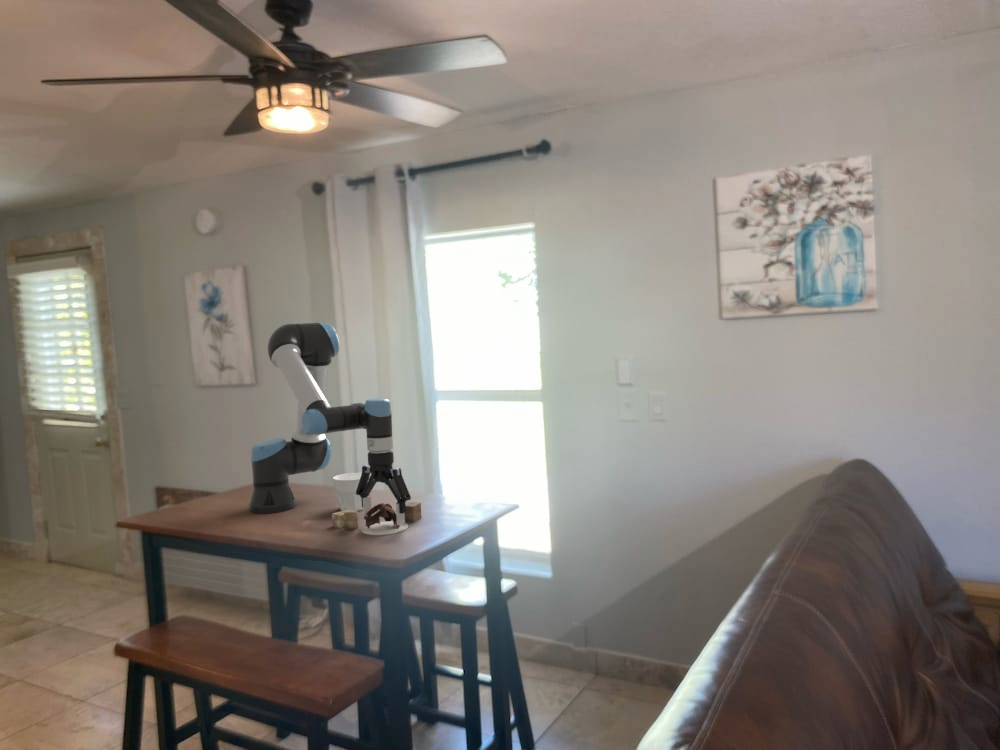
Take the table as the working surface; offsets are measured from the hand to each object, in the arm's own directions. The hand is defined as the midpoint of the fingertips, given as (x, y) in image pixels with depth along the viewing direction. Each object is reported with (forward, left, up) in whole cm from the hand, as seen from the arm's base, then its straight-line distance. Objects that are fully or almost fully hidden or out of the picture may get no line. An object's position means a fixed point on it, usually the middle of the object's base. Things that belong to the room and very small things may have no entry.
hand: (384, 521), depth 218 cm
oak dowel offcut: (-10, -4, -2) cm, 11 cm away
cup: (-28, +14, -2) cm, 31 cm away
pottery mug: (0, 0, -2) cm, 2 cm away
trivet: (0, 0, -2) cm, 2 cm away
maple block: (-15, -2, -2) cm, 15 cm away
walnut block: (0, +11, -2) cm, 12 cm away
